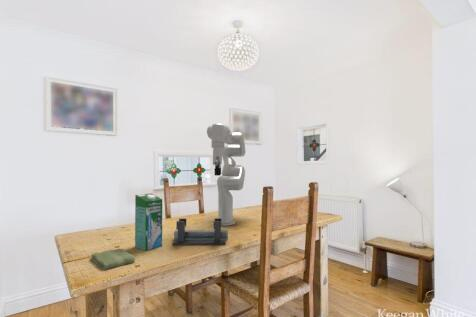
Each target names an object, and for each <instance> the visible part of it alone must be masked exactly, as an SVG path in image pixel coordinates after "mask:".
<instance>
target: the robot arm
mask: <svg viewBox="0 0 476 317" xmlns="http://www.w3.org/2000/svg"><path fill="white" fill-rule="evenodd" d="M206 135H207V137H208V138H209V139H210V140H211V149H212V165H213V166H214V176H219V177H217V179H216V186H217V192H218V194H217V196H218V200H217V201H218V203H217V204H218V206H217V207H218V208H217V209H218V212H217V214H218V216H217V218H222V226H223V227H224V226H225V227H226V226H227V227H228V226H229V227H230V226H234V225H235V224H236V222H235V220H233V217H234V215H233V213H234V206H233V205H234V203H233V202H234V199H233V194H232V193H231V191H241V190H243V188H244V184H245V177H246V169H245V167H244V166H243V165H241V164H240V165H239V164H238V165H237V164H236V161H235V159H234V158H235V157H236V158H237V157H240V158H241V157H244V156H245V155H246V146H245V145H246V144H245V143H246V142H245V137H244V135H243V132H232V131H231V128H230V126H228V125H224V124H223V123H213V124H212V125H209V126H208V127H207V128H206ZM225 144H226V145H225ZM232 157H234V158H232ZM222 163H223V166H222ZM222 226H221V227H222Z"/></svg>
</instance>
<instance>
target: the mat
mask: <svg viewBox="0 0 476 317" xmlns="http://www.w3.org/2000/svg"><path fill="white" fill-rule="evenodd" d="M173 239H174V238H173ZM174 240H178V239H174ZM174 240H173V241H174ZM185 240H214V239H185ZM221 240H226V241H228V238H222V239H221Z"/></svg>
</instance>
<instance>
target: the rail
mask: <svg viewBox="0 0 476 317" xmlns="http://www.w3.org/2000/svg"><path fill="white" fill-rule="evenodd" d="M222 238H227V239H228V238H229V230H228V229H221V239H222ZM173 239H178V229H175V230H174V231H173ZM185 239H214V229H189V230H188V229H185Z"/></svg>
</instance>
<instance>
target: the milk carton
mask: <svg viewBox="0 0 476 317" xmlns="http://www.w3.org/2000/svg"><path fill="white" fill-rule="evenodd" d="M134 198H135V199H134V200H135V204H134V205H135V206H134V207H135V209H134V213H135V214H134V218H135V219H134V223H135V224H134V232H135V233H134V247H135V248H137V249H139V250H143V251H146V252H147V251H149V250H154V249H156V248H159V247H163V199H162V198H160V197H159V196H157V195H155V194H154V193H142V194H136V195H135V197H134Z"/></svg>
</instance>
